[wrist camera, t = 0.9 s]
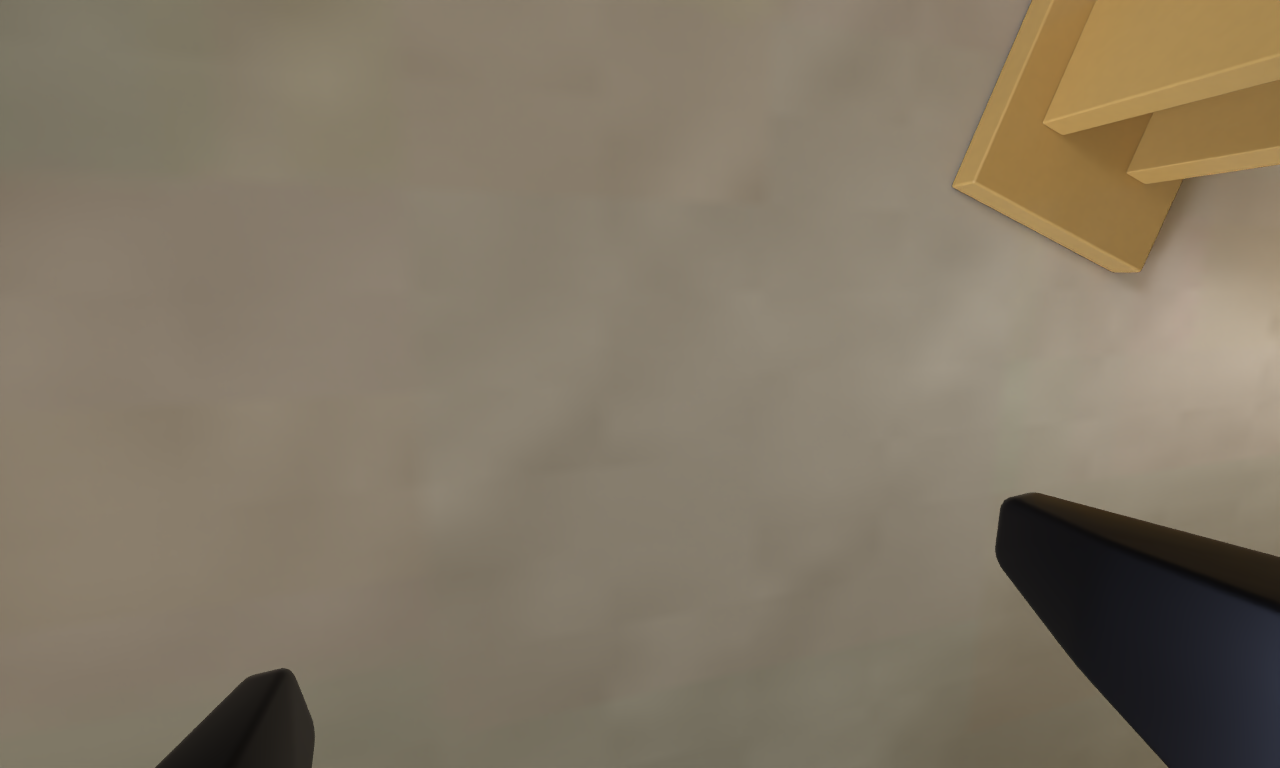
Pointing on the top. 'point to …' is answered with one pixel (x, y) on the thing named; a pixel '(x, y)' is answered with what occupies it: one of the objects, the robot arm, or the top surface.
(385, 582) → the top surface
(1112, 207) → the bracket
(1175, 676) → the robot arm
